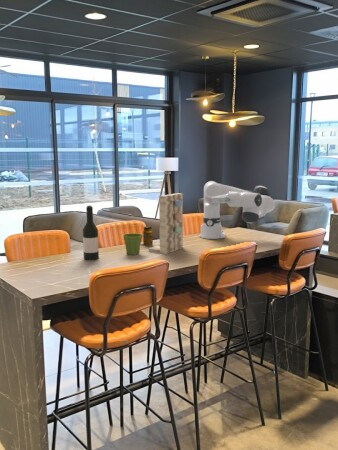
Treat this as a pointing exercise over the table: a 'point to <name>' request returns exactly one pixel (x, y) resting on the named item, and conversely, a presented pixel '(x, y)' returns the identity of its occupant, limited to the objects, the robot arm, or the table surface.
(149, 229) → the condiment
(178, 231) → the sage button
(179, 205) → the slate button
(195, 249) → the table surface
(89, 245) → the wine bottle
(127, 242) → the plant pot
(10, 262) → the table surface
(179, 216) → the terracotta button
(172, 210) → the tall patterned box
